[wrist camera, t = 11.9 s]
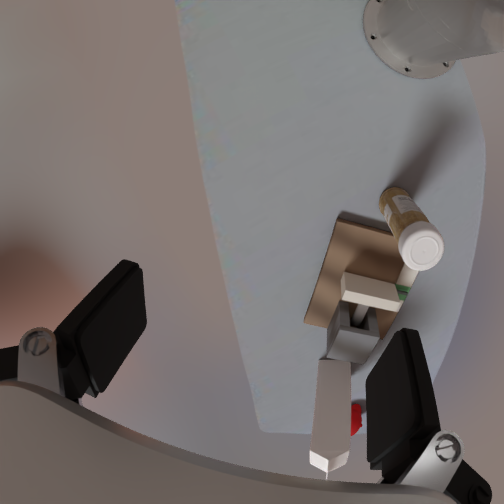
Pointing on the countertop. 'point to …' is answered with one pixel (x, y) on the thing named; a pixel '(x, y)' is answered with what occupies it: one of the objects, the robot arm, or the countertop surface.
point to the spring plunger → (368, 294)
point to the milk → (331, 416)
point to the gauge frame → (341, 312)
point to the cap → (355, 418)
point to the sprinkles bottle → (411, 230)
